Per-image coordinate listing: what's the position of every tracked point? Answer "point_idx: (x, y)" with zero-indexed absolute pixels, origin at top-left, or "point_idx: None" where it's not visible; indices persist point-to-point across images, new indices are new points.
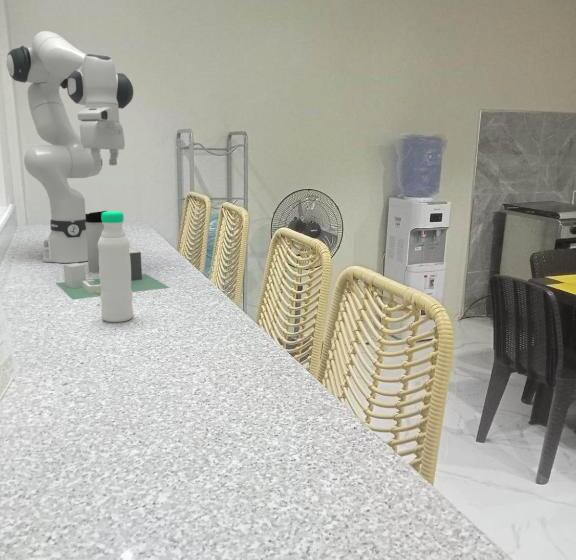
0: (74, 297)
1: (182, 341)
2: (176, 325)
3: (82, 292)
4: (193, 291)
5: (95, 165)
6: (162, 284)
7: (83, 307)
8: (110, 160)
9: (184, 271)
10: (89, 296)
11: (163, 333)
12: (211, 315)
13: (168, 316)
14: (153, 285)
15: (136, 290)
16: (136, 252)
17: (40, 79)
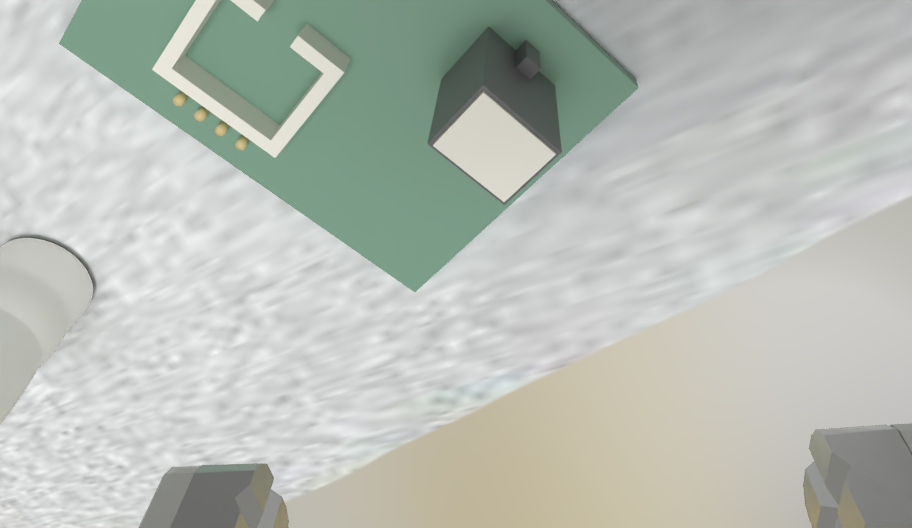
0: (83, 32)
1: (25, 458)
2: (106, 416)
3: (167, 11)
4: (454, 345)
5: (179, 474)
6: (449, 250)
7: (64, 105)
8: (844, 524)
9: (819, 193)
10: (135, 82)
11: (38, 412)
12: (230, 455)
13: (158, 377)
14: (418, 227)
15: (315, 205)
16: (488, 189)
17: None
